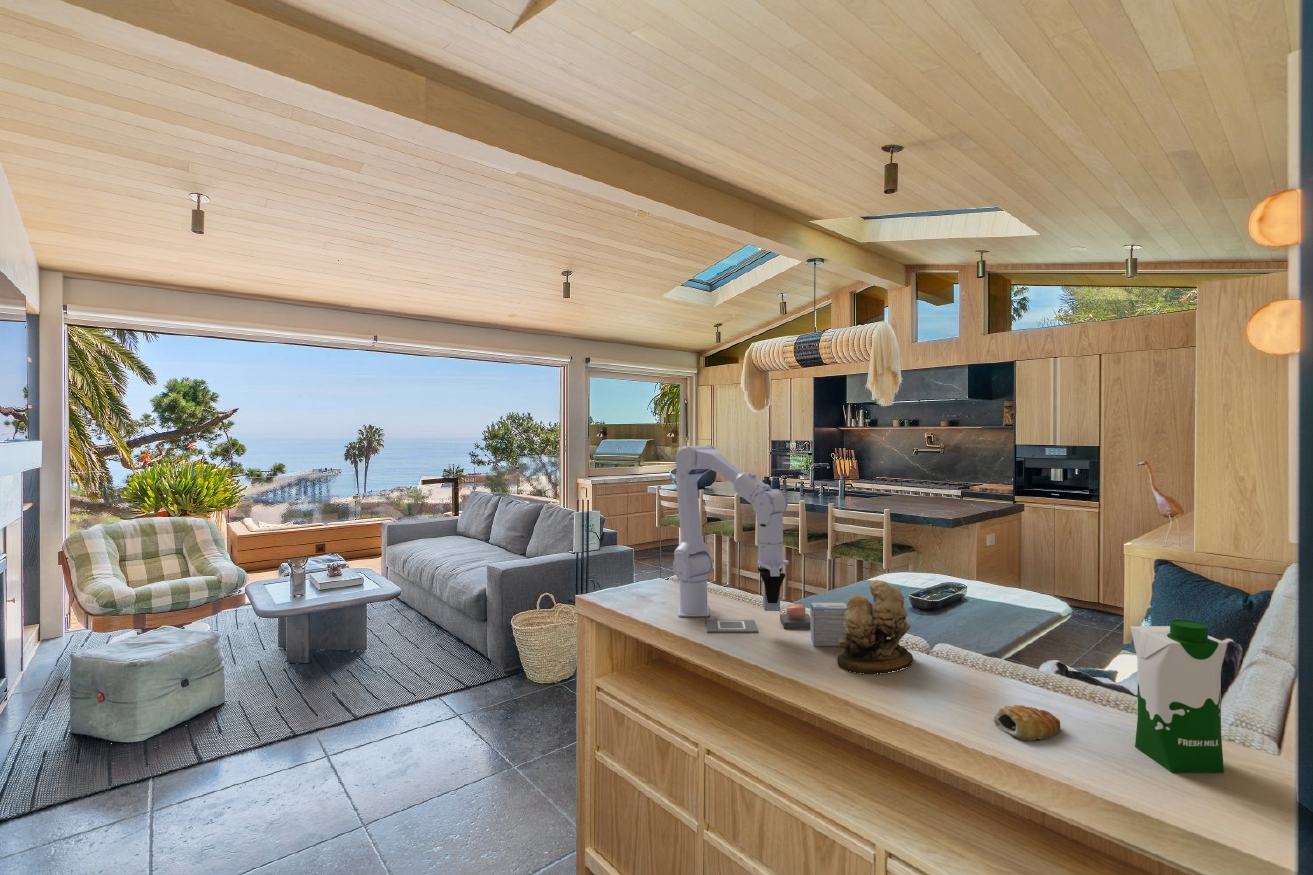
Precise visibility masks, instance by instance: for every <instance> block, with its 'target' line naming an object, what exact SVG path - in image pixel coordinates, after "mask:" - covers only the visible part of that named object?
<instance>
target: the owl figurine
mask: <svg viewBox="0 0 1313 875" xmlns="http://www.w3.org/2000/svg"><path fill="white" fill-rule="evenodd" d="M869 590H870V593H871V595H872V599H873V603H871V602H870V601H869V600H868V599H867V598H866V597H864V596H862V595H857V594H856V595H852V596H850V598H849V599H848V602H847V604H846V605H847V608H846V609H847V611H846V612H845V614H844V624H843V632H844V634H845V635H846V637H844V638H839V641H838V645H839V646H838V647H840V648H842V649H843V651H842V653H840V654H839V655H838V656H837V659H836V660H837V665H838V667H839V668H840V669H843V670H844V669H845V670H844V671H846V670H848V671H847V672H849V671H851V672H850V673H853V672H856V673H855V674H857V673H862V674H861V675H864V674H877V673H878V675H881V674H880V673H888V672H892V671H897V670H900V669H902V668H906V667H908V666H909V665H910V666H912V664H913V663H912V662H914V656H913V654H912V653H911V652H910V651H908V649H907V648H906V647H904V646H902V645H900V644H899V643H900V641H901V639H903V638H904V636H905V635H906V634H907V632H908V631H909V630H910V629H911V626H912V625H911V624H910V623H909V622H907V616H908V612H907V610H906V608H905V607H904V606H905V596H904V595H903V593H902V591H901V590H900V589H899V588H898V587H896V586H893V585H890V584H889V583H888V582H886V581H883V580H880V579H874V580H873V581H871V583H870V584H869ZM911 663H912V664H911ZM910 666H909V667H910ZM909 667H908V668H909ZM906 669H907V668H906ZM863 673H864V674H863ZM888 674H889V673H888Z"/></svg>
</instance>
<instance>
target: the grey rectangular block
mask: <svg viewBox="0 0 1313 875" xmlns="http://www.w3.org/2000/svg"><path fill="white" fill-rule="evenodd" d="M762 607H763V610H764V612H780V611H781V592H779V598H778V602H777V603H768V601H767V597H766V591H765V585H764V582H763V583H762Z"/></svg>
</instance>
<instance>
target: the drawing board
mask: <svg viewBox="0 0 1313 875" xmlns="http://www.w3.org/2000/svg"><path fill="white" fill-rule="evenodd" d="M705 624H706V632H707V634H718V633H720V634H729V633H730V634H735V633H736V634H746V633H747V634H756V633H757V634H758V633H759V629H758V627H757V624H756V621H755V619H705Z"/></svg>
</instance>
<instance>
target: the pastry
mask: <svg viewBox="0 0 1313 875" xmlns="http://www.w3.org/2000/svg"><path fill="white" fill-rule="evenodd" d="M993 722H994V724H995V726H996V727H997V726H998V727H997V728H998V729H999V730H1000V731H1002V732H1005V734H1006V733H1007V734H1009V735H1010V736H1012V737H1014V738H1016V739H1019V740H1023V741H1035V740H1037V739H1039V740H1040V741H1041V740H1042V741H1043V740H1046V739H1049V738H1052V737H1054V736H1056V735H1059V733H1060V731H1061V721H1060V719H1059V718H1057V717H1056V716H1055V715H1054V714H1053V713H1051V712H1049V711H1047V710H1045V709H1038V708H1036V707H1032V706H1031V707H1030V706H1025V705H1019V704H1014V705H1013V706H1012V705H1005V706H1004V707H1003V708H1002V707H1001V708H999V709H998V711H997V712H996V713H995V715H994V716H993Z"/></svg>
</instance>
